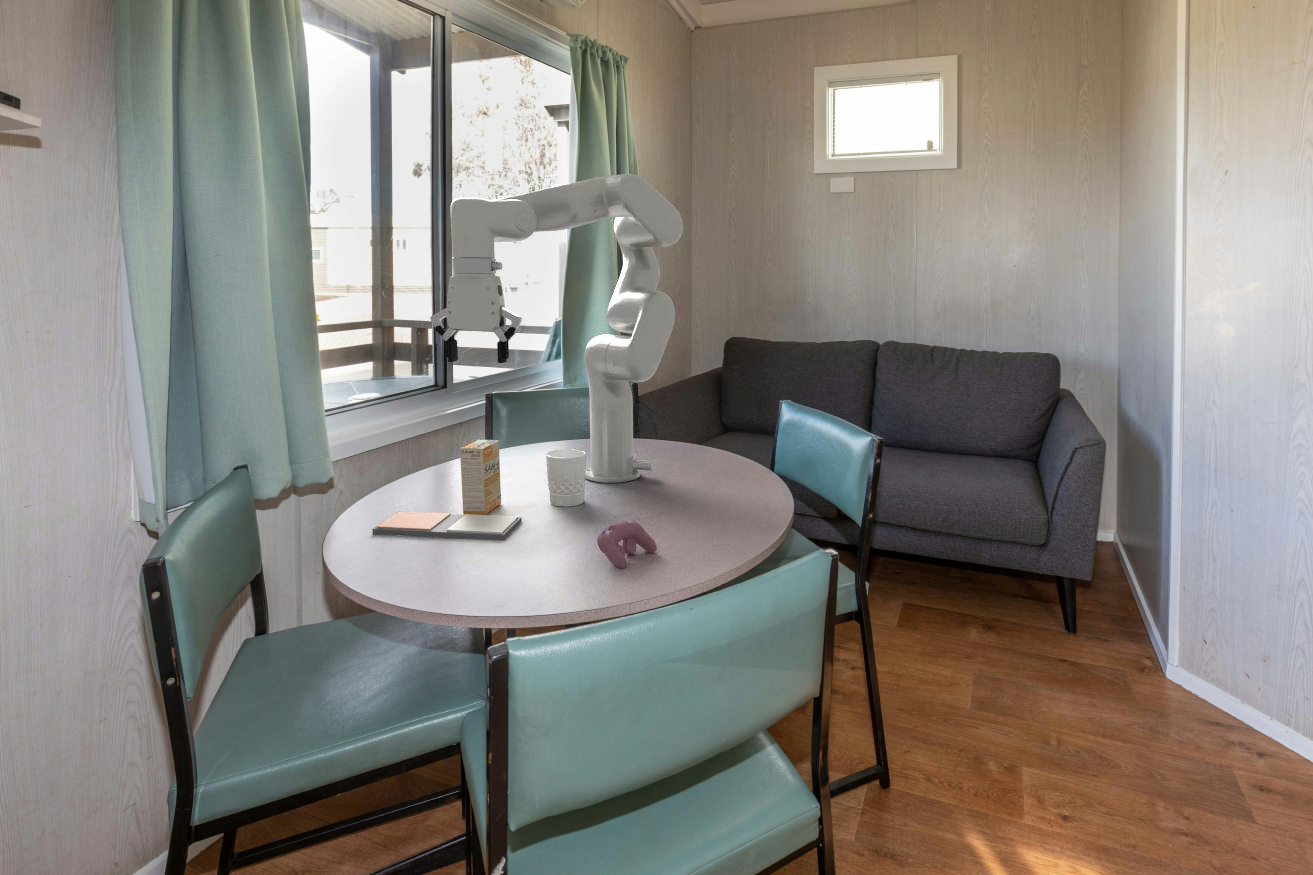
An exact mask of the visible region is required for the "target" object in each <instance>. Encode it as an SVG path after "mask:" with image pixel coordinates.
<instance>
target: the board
mask: <svg viewBox="0 0 1313 875" xmlns="http://www.w3.org/2000/svg"><path fill="white" fill-rule="evenodd" d="M522 519H523V518H522V517H521V516H518V515H517V516H515V515H496V514H495V515H493V514H490V515H489V514H486V515H473V514H457V513H455V514H452V513H449V512H423V511H422V512H421V511H402V510H401V511H398V512H396V513H395V514H392V515H391V516H390V517H388V518H387V519H385V520H383V521H382V522H381V523H379V524H377V525H376V526H374V527H373V528H372V529H371V530H372V535H381V536H383V535H384V536H399V537H400V536H403V537H406V536H407V537H420V538H421V537H423V538H425V537H426V538H444V539H466V540H487V541H503V542H504V541H505V540H506V539H507V538H508V537H510V536H511V534H512V533H513V532H514V531H515V530H516V529H517V528H518V527H519V526H520V525H521V524H522V523H523V520H522Z"/></svg>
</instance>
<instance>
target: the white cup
mask: <svg viewBox="0 0 1313 875" xmlns="http://www.w3.org/2000/svg"><path fill="white" fill-rule="evenodd" d="M586 459H587V453H586V451H584V450H581V449H575V448H573V449H572V448H566V449H565V448H564V449H563V448H562V449H553V450H551V451H547V452H546V453H545V460H546V461H545V462H546V474H547V481H548V484H547V485H548V490H549V502H550V504H551V505H552V506H555V507H562V508H563V507H575V506H580V505H582V504H583V503H584V502H585V488H586V478H585V475H586V469H587V466H586V465H587V463H586V461H587V460H586Z"/></svg>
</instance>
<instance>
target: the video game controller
mask: <svg viewBox="0 0 1313 875" xmlns="http://www.w3.org/2000/svg"><path fill="white" fill-rule="evenodd" d="M621 541H622V544H620V542H621ZM596 543H597V546H598V548H599V551H601V552H602V553H603V554H604V555H605V557H606V558H607V559H608V561H610V563H611V564H612V565H614V566H615V567H616V568H617V569H621V568H622V570H623V569H626V567H627V559H626V555H627V556H629V554H630V555H634V553H636V551H637V545H638V546H640V548H642V549H643V550H644V551H646V552H647V553H650V552H651V554H656V552H657V550H658V549H657V546H658V545H657V544H656V542H655V540H654V539H653V537H652V536H651V535H650V534H648V532H647V531H646V530H645V529H644V527H642V525H641V524H640V523H638V522H636V520H634V519H633V520H621V521H617V522H614V523H612V524H610V525H608V526H607V527H606V528H605V529H604V530H603V531H602V532H601V533H599V535H598V536H597V542H596Z"/></svg>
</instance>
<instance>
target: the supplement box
mask: <svg viewBox="0 0 1313 875" xmlns="http://www.w3.org/2000/svg"><path fill="white" fill-rule="evenodd" d="M459 458H460V459H459V460H460V475H461V493H462V494H461V495H462V497H461V498H462V515H465V514H473V515H488V513H490V512H491V511H492V510H494V509H496V507H498V506H499V505H501V504H502V497H501V496H502V493H501V492H502V491H501V490H502V489H501V465H500V463H501V462H500V461H501V460H500V440H498V439H497V440H496V439H476V440H475V441H473V442H470V443H469V444H466V445H463V446H461V447H460V448H459Z"/></svg>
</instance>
